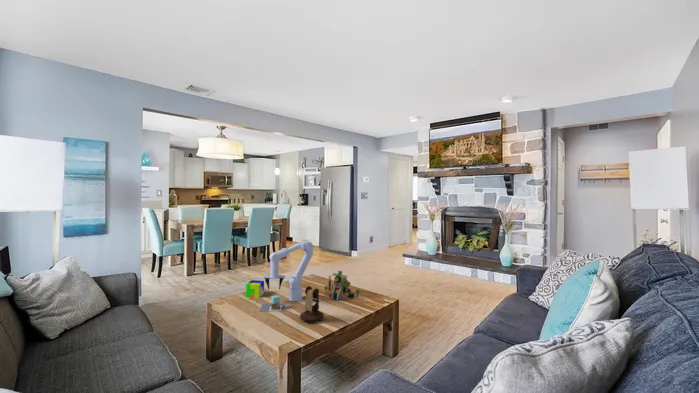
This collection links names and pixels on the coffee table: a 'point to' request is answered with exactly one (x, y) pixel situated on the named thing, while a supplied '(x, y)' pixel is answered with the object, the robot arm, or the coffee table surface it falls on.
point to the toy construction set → (339, 287)
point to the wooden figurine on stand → (311, 306)
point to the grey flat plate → (268, 308)
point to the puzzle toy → (255, 288)
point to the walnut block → (275, 306)
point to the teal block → (275, 299)
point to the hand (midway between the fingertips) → (274, 288)
